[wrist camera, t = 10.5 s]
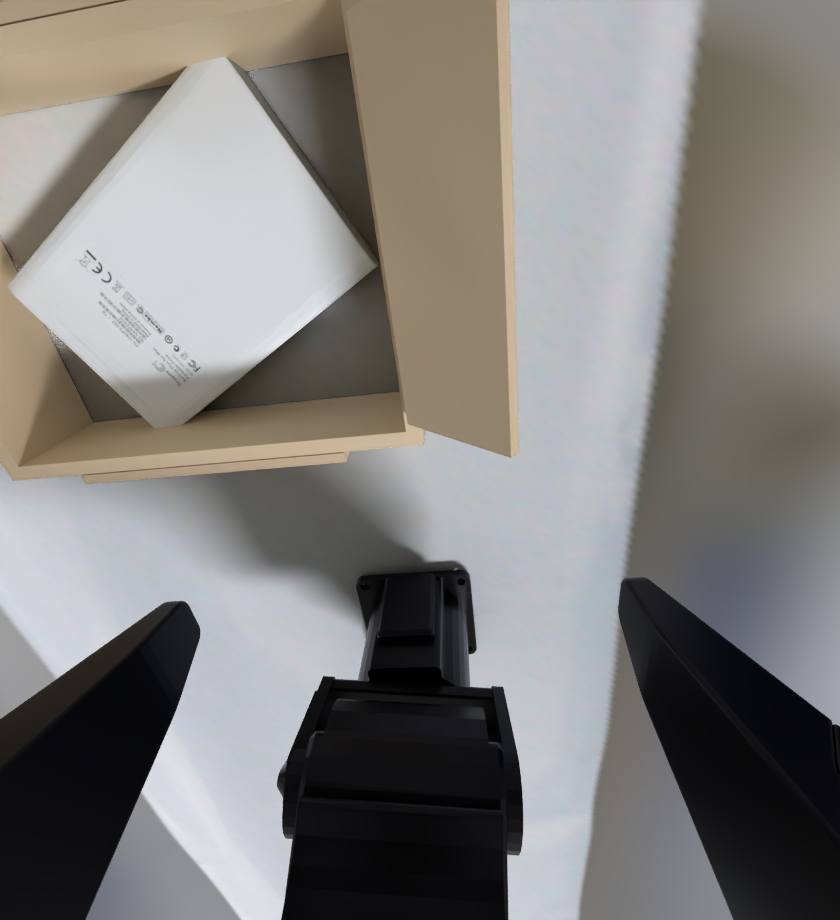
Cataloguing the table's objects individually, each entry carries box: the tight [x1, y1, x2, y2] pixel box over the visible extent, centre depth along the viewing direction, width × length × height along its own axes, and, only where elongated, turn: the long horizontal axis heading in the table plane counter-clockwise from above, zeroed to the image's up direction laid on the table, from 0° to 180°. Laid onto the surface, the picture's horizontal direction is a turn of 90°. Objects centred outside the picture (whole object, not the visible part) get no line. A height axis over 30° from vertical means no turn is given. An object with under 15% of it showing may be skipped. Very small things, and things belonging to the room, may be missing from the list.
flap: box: [346, 0, 519, 458], centre depth 12 cm, size 4×11×1 cm
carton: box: [0, 0, 425, 484], centre depth 17 cm, size 14×17×4 cm
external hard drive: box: [8, 57, 379, 429], centre depth 18 cm, size 2×8×12 cm
